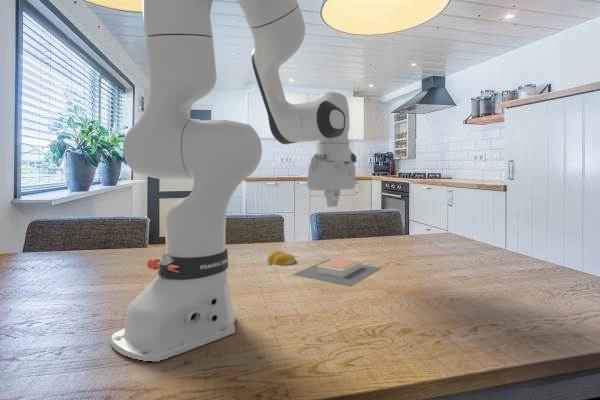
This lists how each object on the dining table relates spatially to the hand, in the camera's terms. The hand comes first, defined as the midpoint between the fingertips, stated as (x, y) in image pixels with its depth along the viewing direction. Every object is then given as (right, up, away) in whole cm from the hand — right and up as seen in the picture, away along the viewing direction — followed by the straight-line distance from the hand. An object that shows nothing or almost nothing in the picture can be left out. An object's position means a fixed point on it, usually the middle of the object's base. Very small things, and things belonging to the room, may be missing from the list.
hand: (332, 206), depth 99 cm
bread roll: (-15, -19, +16) cm, 29 cm away
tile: (-1, -18, 0) cm, 18 cm away
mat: (+2, -19, +4) cm, 20 cm away
